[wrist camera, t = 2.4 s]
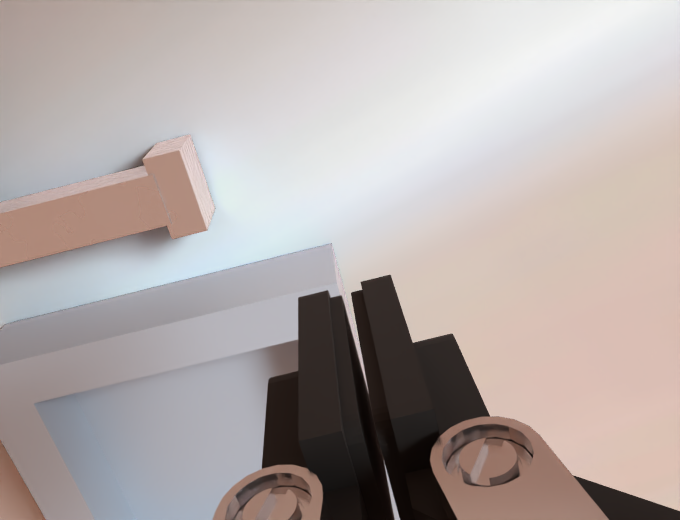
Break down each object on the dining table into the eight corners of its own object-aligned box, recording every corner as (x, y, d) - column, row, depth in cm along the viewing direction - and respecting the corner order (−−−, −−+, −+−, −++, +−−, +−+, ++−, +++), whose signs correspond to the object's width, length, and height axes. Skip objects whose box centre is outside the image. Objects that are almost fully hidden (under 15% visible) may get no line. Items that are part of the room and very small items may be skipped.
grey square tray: (5, 324, 29) (-38, 374, 25) (331, 243, 28) (336, 282, 25) (128, 560, 35) (108, 629, 31) (400, 498, 34) (412, 560, 31)
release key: (-123, 214, 26) (-167, 239, 24) (190, 134, 26) (178, 150, 23) (-84, 283, 28) (-122, 313, 25) (215, 208, 27) (206, 231, 25)
